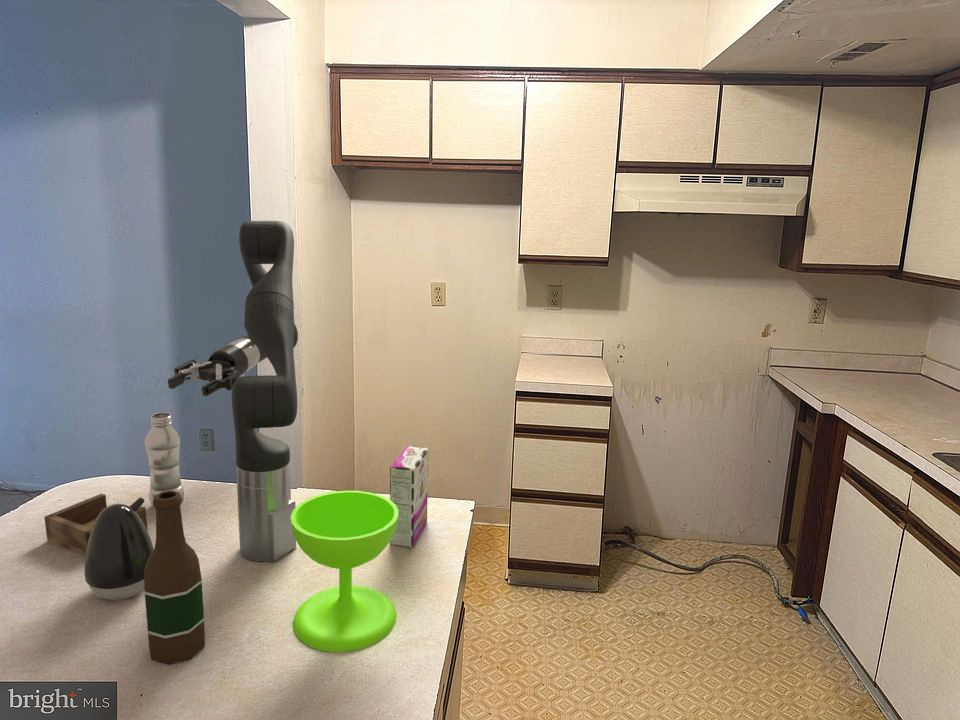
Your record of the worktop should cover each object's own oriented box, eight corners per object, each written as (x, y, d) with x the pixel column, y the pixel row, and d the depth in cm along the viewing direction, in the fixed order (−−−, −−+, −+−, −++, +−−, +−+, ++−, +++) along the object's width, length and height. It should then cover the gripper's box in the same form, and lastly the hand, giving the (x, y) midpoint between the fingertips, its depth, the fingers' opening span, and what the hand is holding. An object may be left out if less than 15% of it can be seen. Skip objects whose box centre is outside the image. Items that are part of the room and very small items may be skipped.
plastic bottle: (171, 516, 131) (165, 422, 126) (142, 511, 132) (134, 418, 127) (191, 502, 137) (186, 412, 132) (163, 498, 138) (157, 409, 134)
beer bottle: (160, 630, 97) (149, 482, 91) (214, 630, 98) (206, 483, 92) (138, 667, 89) (124, 507, 84) (196, 666, 90) (186, 508, 84)
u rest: (147, 531, 125) (145, 507, 123) (92, 558, 115) (90, 533, 113) (103, 516, 129) (101, 493, 128) (47, 541, 119) (44, 516, 118)
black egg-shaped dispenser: (172, 580, 109) (166, 497, 106) (121, 615, 100) (112, 526, 96) (126, 567, 113) (118, 486, 109) (71, 600, 103) (61, 512, 99)
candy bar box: (404, 518, 135) (405, 444, 131) (427, 521, 134) (430, 447, 130) (387, 545, 124) (389, 465, 120) (413, 549, 123) (415, 468, 119)
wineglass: (309, 585, 110) (308, 487, 106) (403, 591, 110) (405, 493, 105) (278, 648, 94) (274, 536, 90) (387, 655, 94) (389, 543, 90)
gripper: (207, 339, 150) (155, 366, 136) (260, 349, 146) (213, 378, 132) (211, 368, 153) (161, 398, 139) (263, 379, 149) (217, 410, 135)
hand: (186, 388), depth 135 cm, fingers open, 8 cm apart
